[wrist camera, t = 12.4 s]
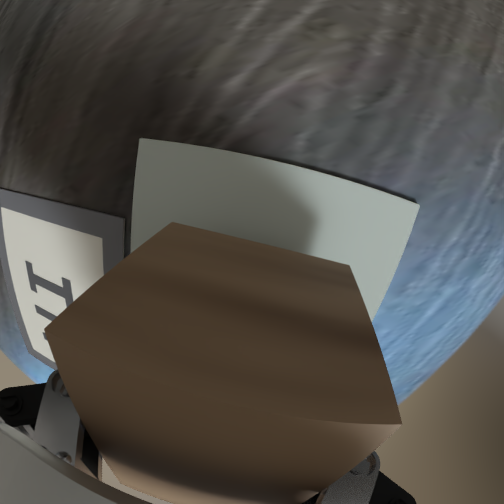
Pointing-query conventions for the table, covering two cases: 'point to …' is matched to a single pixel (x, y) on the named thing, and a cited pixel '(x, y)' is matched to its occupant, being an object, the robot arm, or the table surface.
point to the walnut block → (225, 370)
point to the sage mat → (273, 208)
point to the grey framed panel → (52, 259)
